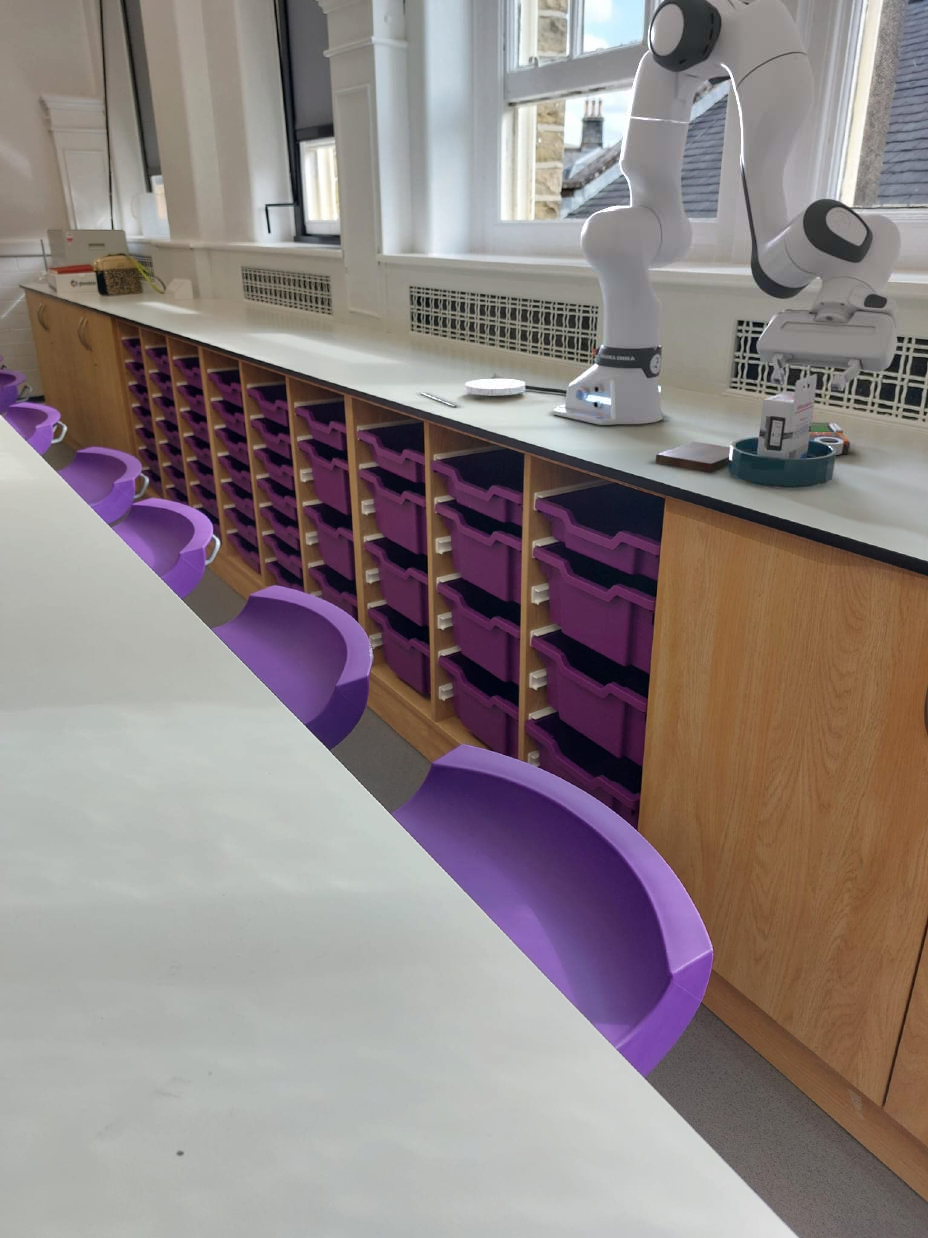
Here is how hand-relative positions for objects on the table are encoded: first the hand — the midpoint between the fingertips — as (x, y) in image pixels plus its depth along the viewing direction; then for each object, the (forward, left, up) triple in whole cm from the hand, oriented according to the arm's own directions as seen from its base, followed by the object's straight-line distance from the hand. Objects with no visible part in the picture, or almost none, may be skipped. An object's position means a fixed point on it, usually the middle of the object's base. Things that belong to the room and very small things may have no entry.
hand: (805, 384), depth 133 cm
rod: (-88, +9, -14) cm, 89 cm away
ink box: (0, -5, -13) cm, 14 cm away
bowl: (0, -5, -13) cm, 14 cm away
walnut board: (-14, -4, -13) cm, 20 cm away
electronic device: (-3, +18, -13) cm, 23 cm away
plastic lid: (-82, +22, -13) cm, 86 cm away
